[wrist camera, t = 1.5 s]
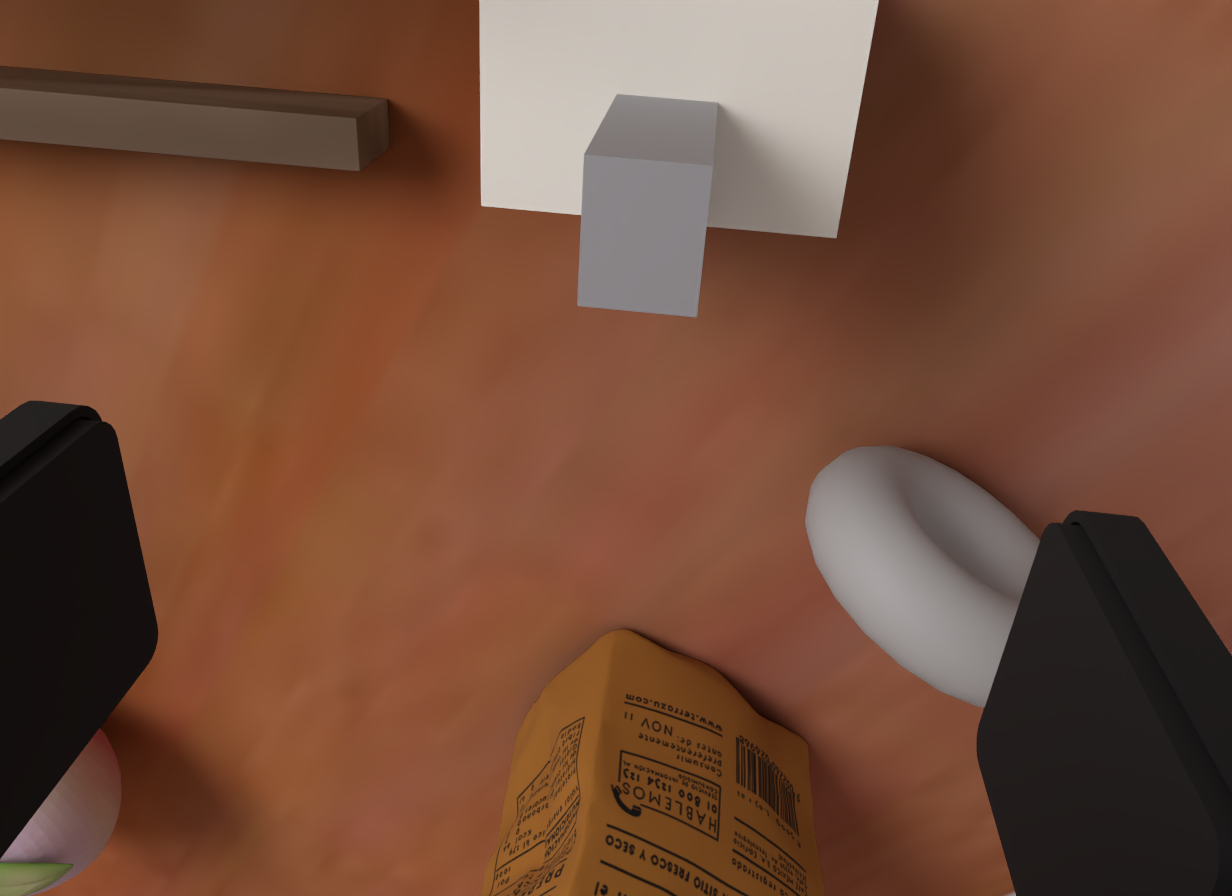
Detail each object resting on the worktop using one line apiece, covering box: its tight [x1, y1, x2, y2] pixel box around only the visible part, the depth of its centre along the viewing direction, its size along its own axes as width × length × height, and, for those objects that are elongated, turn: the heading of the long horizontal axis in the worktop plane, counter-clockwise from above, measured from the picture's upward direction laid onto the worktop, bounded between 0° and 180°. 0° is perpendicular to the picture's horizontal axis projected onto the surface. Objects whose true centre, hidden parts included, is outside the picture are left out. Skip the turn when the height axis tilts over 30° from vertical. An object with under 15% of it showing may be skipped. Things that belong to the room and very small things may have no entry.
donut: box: [805, 446, 1040, 708], centre depth 32 cm, size 10×4×10 cm, turn 60°
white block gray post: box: [479, 0, 879, 317], centre depth 24 cm, size 6×9×13 cm, turn 87°
